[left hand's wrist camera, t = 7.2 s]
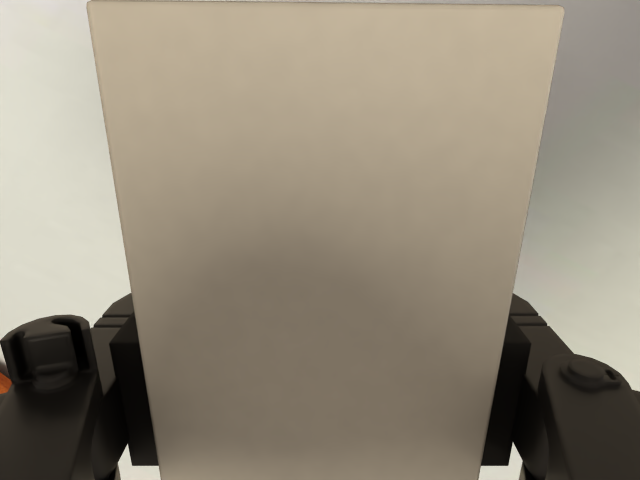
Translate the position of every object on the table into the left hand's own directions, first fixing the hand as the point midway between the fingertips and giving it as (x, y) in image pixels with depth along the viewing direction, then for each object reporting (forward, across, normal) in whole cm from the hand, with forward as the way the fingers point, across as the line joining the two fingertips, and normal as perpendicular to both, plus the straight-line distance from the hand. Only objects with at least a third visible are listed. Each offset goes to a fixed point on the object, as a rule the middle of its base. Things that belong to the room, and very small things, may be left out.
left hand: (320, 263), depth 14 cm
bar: (+1, 0, -27) cm, 27 cm away
